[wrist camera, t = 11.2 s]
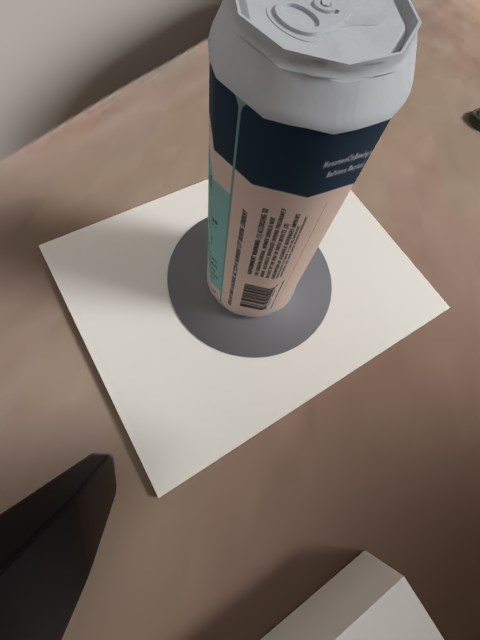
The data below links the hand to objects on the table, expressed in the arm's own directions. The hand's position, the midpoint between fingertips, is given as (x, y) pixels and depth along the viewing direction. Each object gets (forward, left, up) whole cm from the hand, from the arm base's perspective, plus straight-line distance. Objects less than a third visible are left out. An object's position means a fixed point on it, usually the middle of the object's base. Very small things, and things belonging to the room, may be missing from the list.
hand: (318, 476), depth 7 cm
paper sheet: (+5, +8, -9) cm, 13 cm away
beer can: (+4, +8, -8) cm, 12 cm away
